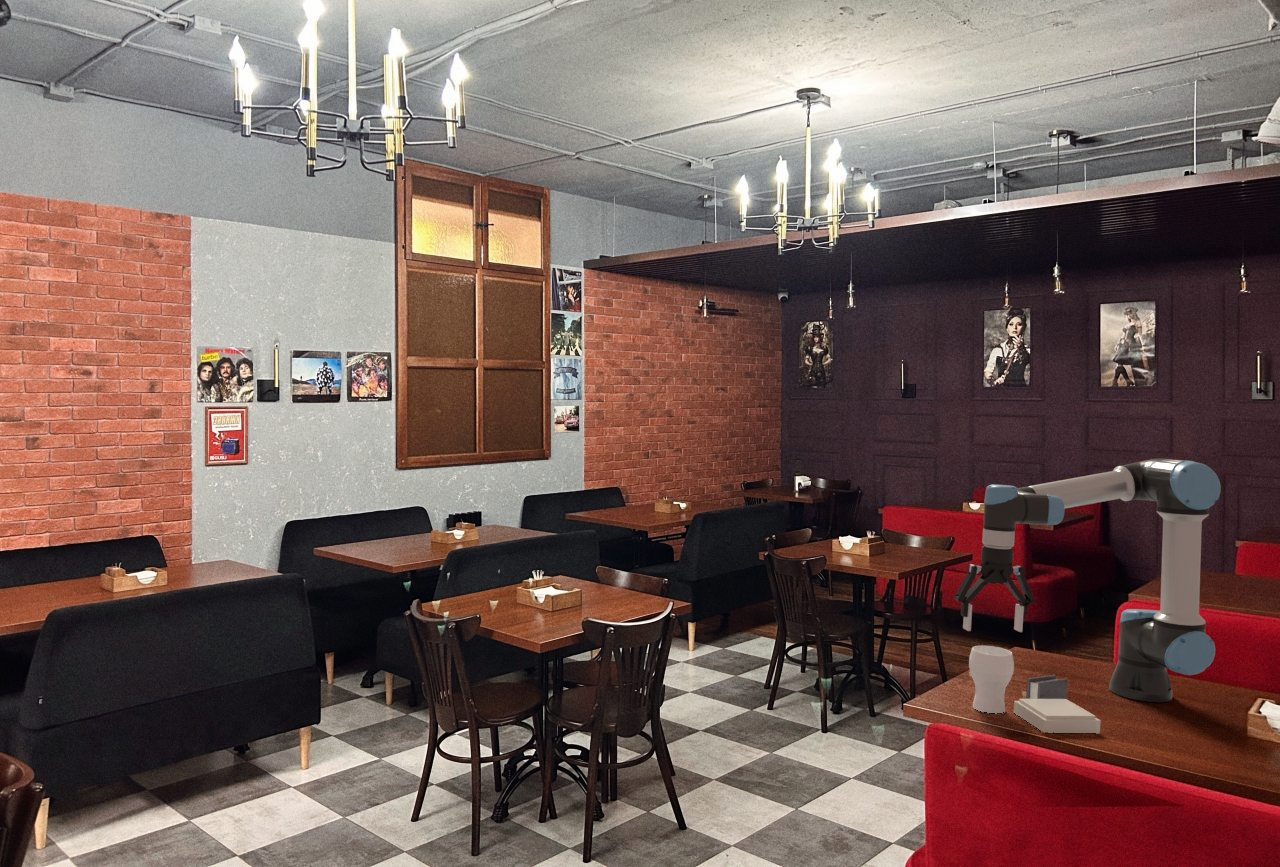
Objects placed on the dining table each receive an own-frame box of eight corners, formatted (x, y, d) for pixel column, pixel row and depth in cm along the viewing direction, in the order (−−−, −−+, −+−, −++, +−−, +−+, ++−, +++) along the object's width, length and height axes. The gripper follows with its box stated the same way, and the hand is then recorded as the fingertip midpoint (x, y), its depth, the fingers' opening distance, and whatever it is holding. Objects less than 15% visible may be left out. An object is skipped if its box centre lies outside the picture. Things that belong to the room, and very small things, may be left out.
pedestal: (1066, 713, 233) (1067, 697, 233) (1099, 733, 219) (1100, 717, 219) (1013, 713, 232) (1014, 697, 231) (1043, 733, 218) (1044, 717, 217)
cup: (1015, 718, 228) (1018, 658, 227) (969, 713, 230) (973, 654, 229) (1007, 704, 238) (1010, 647, 238) (963, 700, 240) (966, 643, 240)
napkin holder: (1052, 701, 243) (1054, 674, 243) (1065, 705, 239) (1067, 679, 239) (1025, 705, 238) (1027, 678, 238) (1038, 710, 235) (1040, 683, 235)
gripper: (1036, 545, 237) (1031, 627, 238) (943, 542, 235) (938, 625, 236) (1052, 550, 230) (1047, 634, 231) (957, 547, 227) (951, 632, 228)
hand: (992, 630), depth 233 cm, fingers open, 13 cm apart
